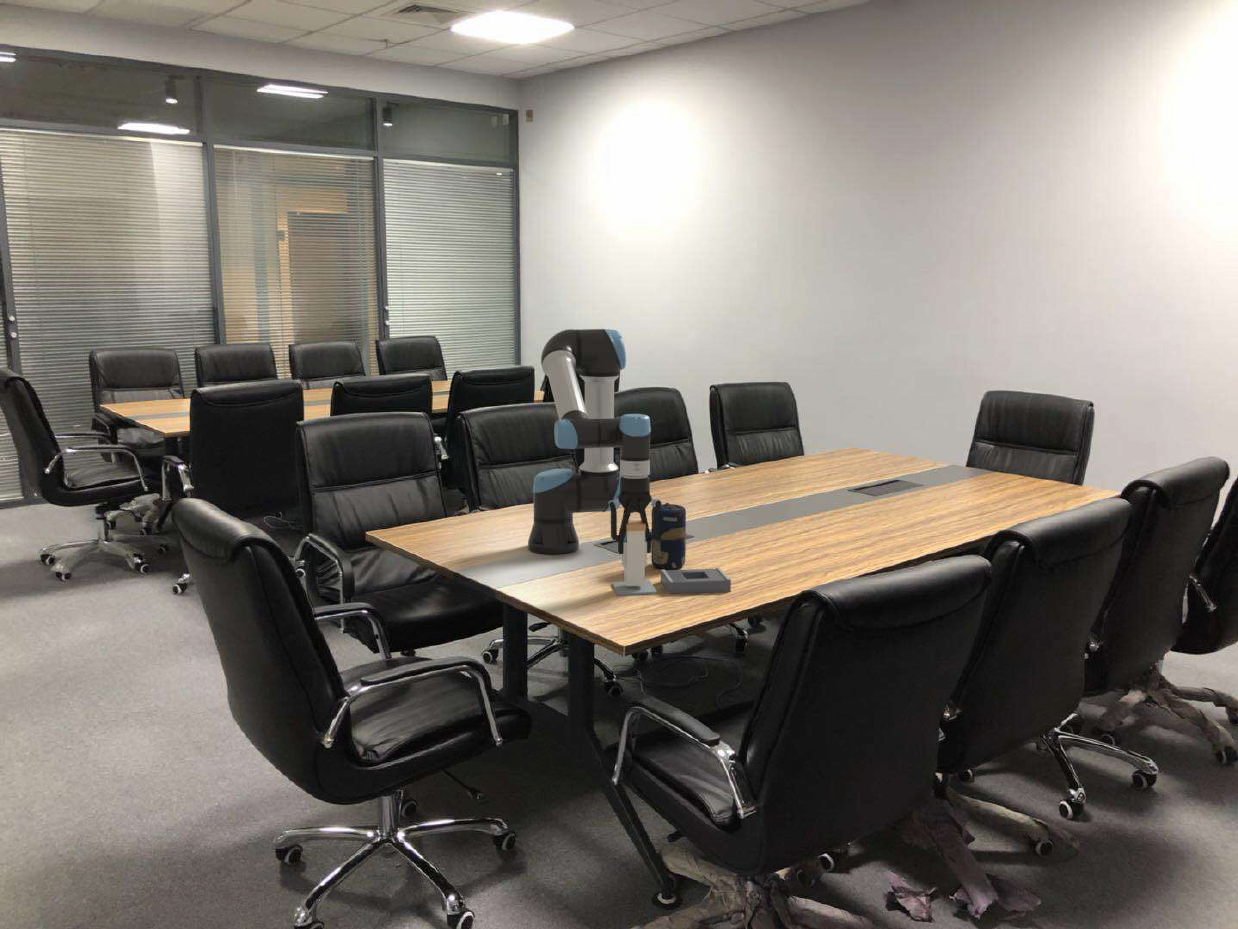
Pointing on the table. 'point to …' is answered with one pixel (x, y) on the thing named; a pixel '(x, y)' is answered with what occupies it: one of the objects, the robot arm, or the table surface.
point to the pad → (634, 589)
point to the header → (695, 581)
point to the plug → (635, 553)
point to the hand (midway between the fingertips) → (634, 565)
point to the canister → (670, 537)
